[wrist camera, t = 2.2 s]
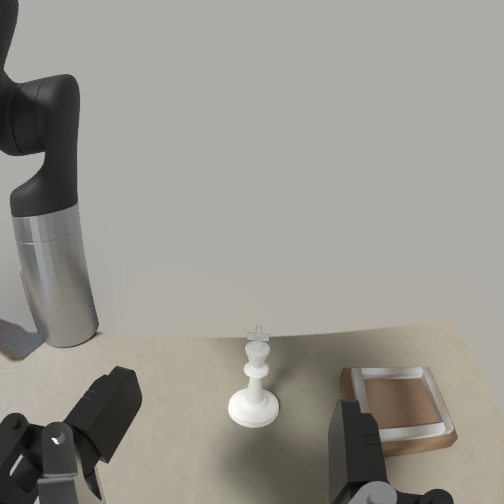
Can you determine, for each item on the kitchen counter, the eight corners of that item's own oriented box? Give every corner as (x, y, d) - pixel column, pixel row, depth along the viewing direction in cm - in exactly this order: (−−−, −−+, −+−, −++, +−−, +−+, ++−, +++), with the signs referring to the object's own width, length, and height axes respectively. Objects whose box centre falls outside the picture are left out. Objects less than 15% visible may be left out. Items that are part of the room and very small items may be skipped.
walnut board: (348, 458, 19) (355, 446, 19) (340, 377, 30) (344, 363, 29) (450, 446, 18) (461, 432, 17) (424, 376, 28) (431, 362, 27)
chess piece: (232, 388, 28) (232, 309, 25) (279, 393, 28) (290, 313, 24) (224, 424, 23) (221, 344, 20) (277, 430, 23) (290, 350, 20)
